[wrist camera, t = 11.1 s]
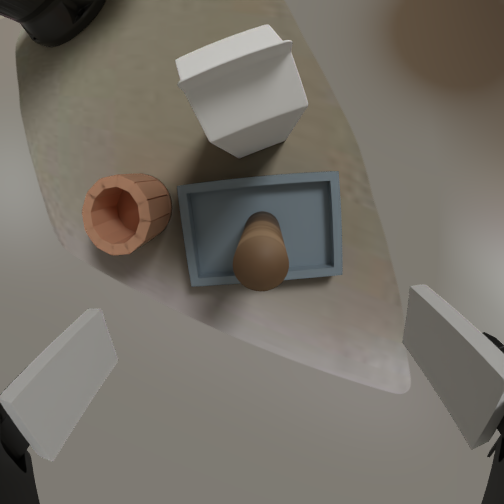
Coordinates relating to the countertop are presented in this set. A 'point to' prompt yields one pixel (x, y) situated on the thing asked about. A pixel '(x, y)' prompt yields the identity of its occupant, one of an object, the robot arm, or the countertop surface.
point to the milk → (244, 90)
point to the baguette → (261, 253)
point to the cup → (126, 212)
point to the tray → (269, 200)
